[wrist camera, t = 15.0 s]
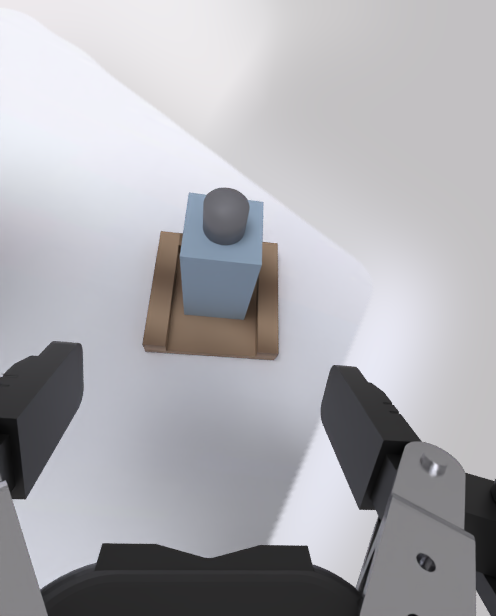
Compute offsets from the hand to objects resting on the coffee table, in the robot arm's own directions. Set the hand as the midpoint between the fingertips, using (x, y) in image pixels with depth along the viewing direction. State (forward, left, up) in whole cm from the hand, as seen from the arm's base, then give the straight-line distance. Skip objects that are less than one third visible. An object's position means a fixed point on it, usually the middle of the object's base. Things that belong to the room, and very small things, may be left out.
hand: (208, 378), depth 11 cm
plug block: (+6, +9, -15) cm, 18 cm away
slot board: (+6, +8, -15) cm, 18 cm away
